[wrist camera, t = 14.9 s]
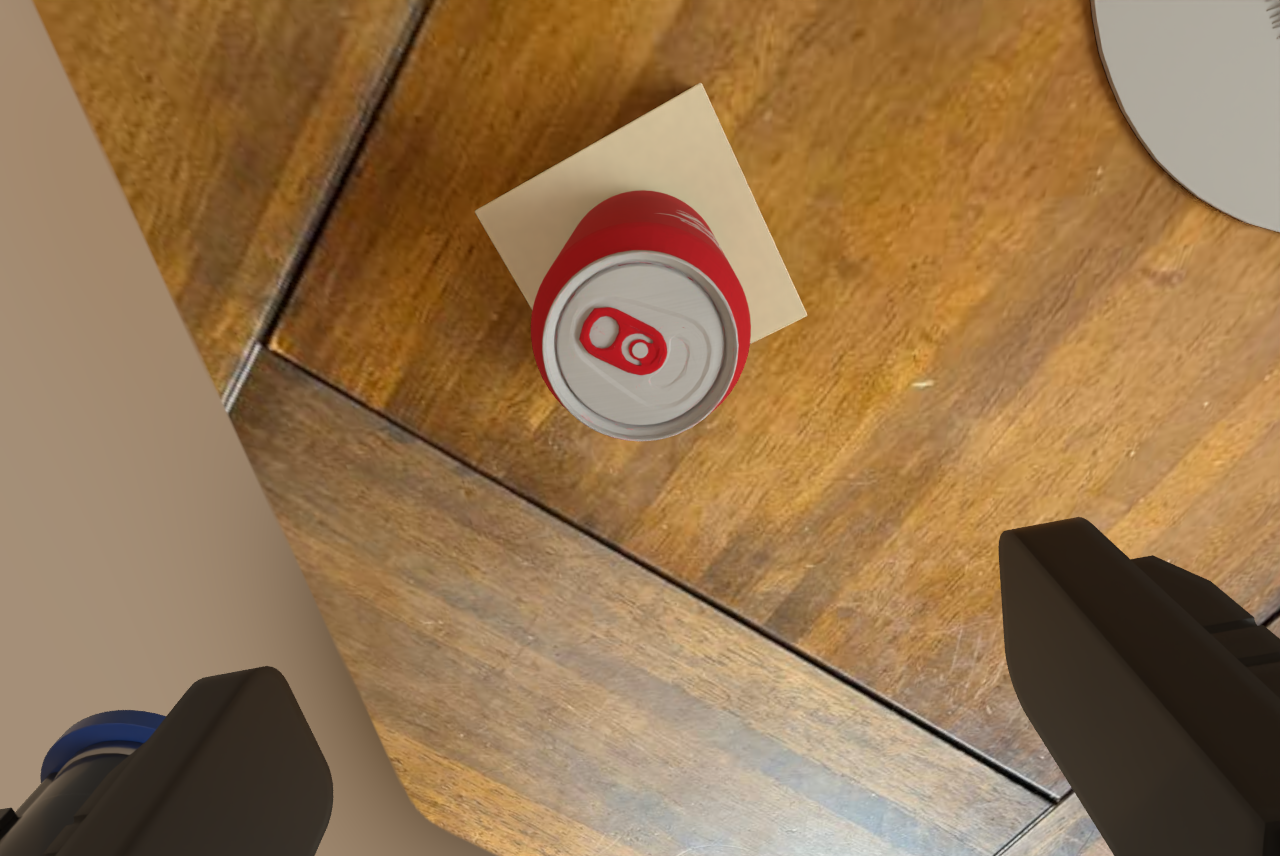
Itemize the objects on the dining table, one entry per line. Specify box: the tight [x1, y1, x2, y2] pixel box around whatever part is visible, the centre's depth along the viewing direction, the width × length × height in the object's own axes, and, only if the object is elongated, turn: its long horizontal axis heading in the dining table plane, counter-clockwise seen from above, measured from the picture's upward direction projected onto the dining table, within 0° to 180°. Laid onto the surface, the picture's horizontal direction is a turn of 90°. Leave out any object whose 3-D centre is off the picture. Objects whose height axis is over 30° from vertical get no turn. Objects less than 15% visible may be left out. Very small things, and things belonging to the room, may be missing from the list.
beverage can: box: [531, 190, 751, 441], centre depth 26 cm, size 6×6×12 cm
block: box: [475, 83, 807, 344], centre depth 34 cm, size 10×10×5 cm
